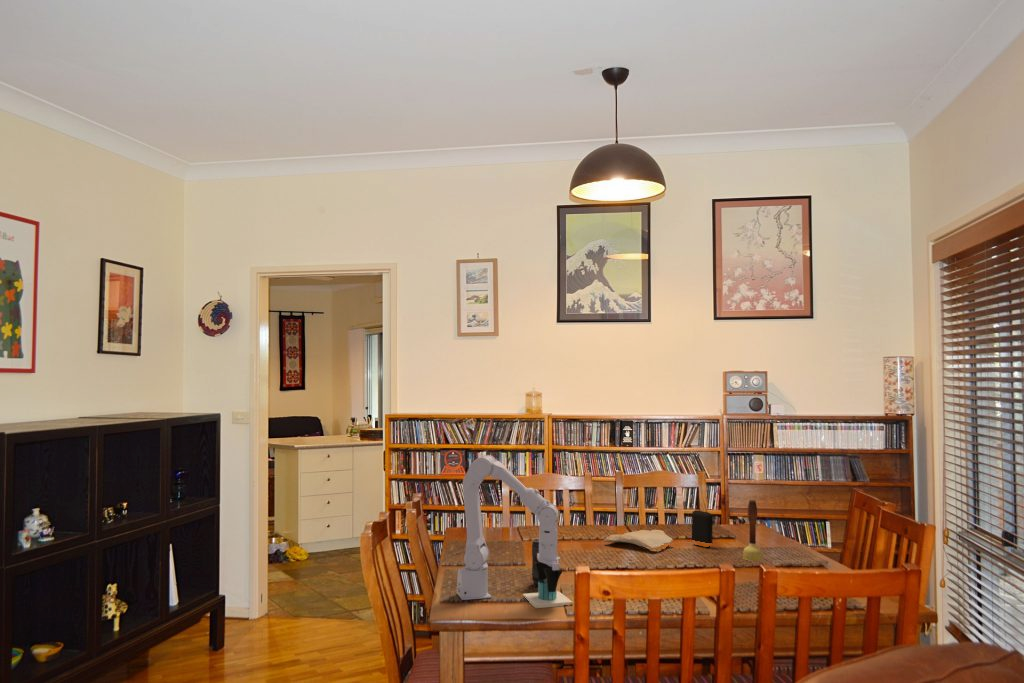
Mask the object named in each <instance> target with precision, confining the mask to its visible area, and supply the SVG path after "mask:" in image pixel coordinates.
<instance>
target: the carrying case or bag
mask: <svg viewBox="0 0 1024 683" xmlns="http://www.w3.org/2000/svg"><path fill="white" fill-rule="evenodd" d="M714 525H715V520H714V518H713V515H712V514H711V513H710V512H709V511H702V510H695V509H694V510H693V511H692V513H691V541H692V540H695V541H700V542H705V543H712V544H713V526H714Z"/></svg>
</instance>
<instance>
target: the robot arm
mask: <svg viewBox="0 0 1024 683" xmlns="http://www.w3.org/2000/svg"><path fill="white" fill-rule="evenodd" d="M489 476H490V477H489ZM487 477H489V478H490V479H494V480H500V481H502V482H503V483H504V484H505V485H507V487H508V488H510V489H511V490H512V491H514V492H515V493H516V494H517V495H519V501H520V503H521V504H522V505H524V506H525V508H527V509H528V510H529V511H530V512H531V513H532V514H534V515H535V516H537V520H538V523H539V529H538V539H539V553H537V560H538V562H534V565H535V567H536V570H537V573H538V578H539V580H541V579H547V587H548V592H555V591H556V587H557V586H558V582H559V579H560V577H561V574H563V569H562V568H560V563H559V561H561V557H559V556H558V521H557V519H558V517H559V509H558V508H557V507H556V505H555V504H554V503H551V501H550V500H549V499H546V498H544V497H543V496H542V495H541V494H540V493H539V492H540V490H538V489H537V488H535V489H534V488H533V487H526V486H525V485H524V484H523V483H522V482H521V481H520V480H519V479H518V478H517V477H516V476H515V475H514V474H513V473H512V472H511V471H510V470H509V469H508V468H507V467H506V466H505V465H504V464H503V463H502V462H501V461H499V460H497V459H496V458H495V457H494V456H493V455H491V454H484V455H483V456H480V457H478V458H476V459H474V461H472V462H471V463H470V464H469V468H468V469H467V471H466V474H465V475H464V477H463V480H462V490H463V491H462V493H463V494H462V495H463V503H464V504H463V505H464V514H465V525H466V526H465V527H466V537H467V538H466V541H465V542H466V543H465V553H464V556H463V563H464V564H465V565H464V567H462V568H458V569H457V576H456V578H457V579H456V580H457V583H456V594H457V595H458V597H459V598H460V599H461V601H462V600H463V601H466V600H480V599H481V600H482V599H492V595H491V594H490V593H489V592H488V591H489V590H488V589H489V588H488V578H489V577H488V576H489V574H488V573H489V565H488V563H487V561H488V559H489V558H490V549H489V548H488V547H489V546H488V545H487V542H486V538H485V536H484V531H483V530H484V529H483V520H482V511H481V510H482V509H481V500H480V499H481V498H480V488H479V486H480V485H481V484H482V482H484V481H485V479H486V478H487Z"/></svg>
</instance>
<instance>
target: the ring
mask: <svg viewBox="0 0 1024 683" xmlns="http://www.w3.org/2000/svg"><path fill="white" fill-rule="evenodd" d="M544 581H545V579H541V580H539V581H538V587H537V593H538V598H539V599H541V600H555V599H556V598H557V591H558V590H557V587H556V591H555V592H548V587H547V583H544Z"/></svg>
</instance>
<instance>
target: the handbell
mask: <svg viewBox="0 0 1024 683" xmlns="http://www.w3.org/2000/svg"><path fill="white" fill-rule="evenodd" d="M747 520H748V524H749V544H748V545H747V546H746V547H744V548H743V550H742V553H743V554H742V556H743V557H742V559H745V560H749V561H760V560H763V552H762V549H761V548H760V547H758V545H757V544H756V543H757V542H756V540H757V539H756V536H757V535H756V530H757V528H756V527H757V526H756V524H757V520H758V506H757V501H756V500H754V499H749V501H748V507H747Z"/></svg>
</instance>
